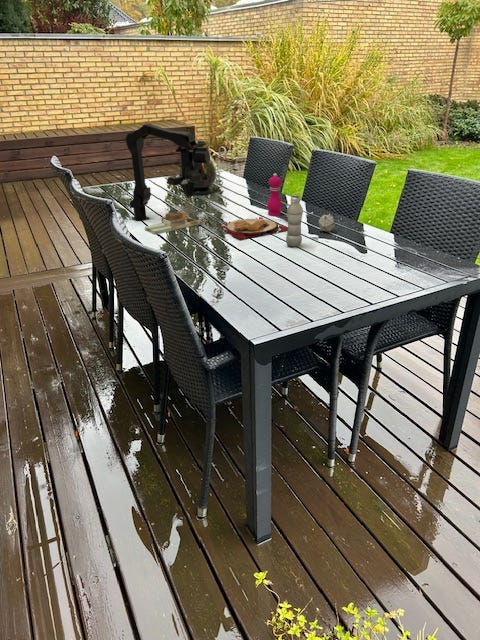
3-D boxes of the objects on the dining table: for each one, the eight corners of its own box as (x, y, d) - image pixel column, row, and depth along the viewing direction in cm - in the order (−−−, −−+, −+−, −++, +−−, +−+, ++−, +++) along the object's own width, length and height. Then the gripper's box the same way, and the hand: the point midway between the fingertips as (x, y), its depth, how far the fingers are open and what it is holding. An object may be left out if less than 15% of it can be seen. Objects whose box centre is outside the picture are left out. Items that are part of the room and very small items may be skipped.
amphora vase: (215, 196, 276) (213, 144, 263) (177, 197, 276) (174, 145, 263) (217, 188, 295) (215, 139, 282) (182, 188, 295) (179, 139, 282)
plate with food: (290, 232, 218) (290, 224, 216) (239, 241, 206) (239, 233, 204) (260, 220, 237) (260, 213, 235) (212, 227, 225) (212, 220, 223)
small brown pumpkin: (329, 239, 218) (343, 221, 215) (324, 237, 210) (339, 219, 207) (314, 226, 220) (328, 209, 217) (309, 225, 212) (324, 206, 209)
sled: (163, 223, 224) (162, 213, 222) (179, 219, 229) (179, 210, 227) (170, 225, 220) (169, 216, 218) (186, 222, 225) (186, 213, 223)
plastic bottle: (303, 243, 201) (305, 195, 192) (299, 249, 195) (301, 199, 186) (288, 242, 203) (289, 194, 194) (283, 247, 197) (285, 198, 188)
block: (166, 221, 224) (165, 213, 222) (174, 219, 226) (173, 212, 225) (171, 223, 221) (170, 215, 219) (179, 221, 223) (179, 214, 222)
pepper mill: (280, 216, 237) (281, 174, 228) (266, 216, 239) (266, 174, 230) (282, 212, 244) (283, 172, 234) (268, 212, 245) (268, 171, 236)
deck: (145, 230, 221) (144, 221, 219) (189, 220, 234) (188, 211, 233) (155, 234, 215) (154, 225, 213) (199, 224, 228) (199, 215, 226)
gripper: (179, 167, 207) (181, 204, 214) (214, 162, 217) (215, 197, 224) (165, 164, 214) (168, 199, 222) (200, 159, 225) (201, 193, 232)
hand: (189, 197), depth 225 cm, fingers closed
